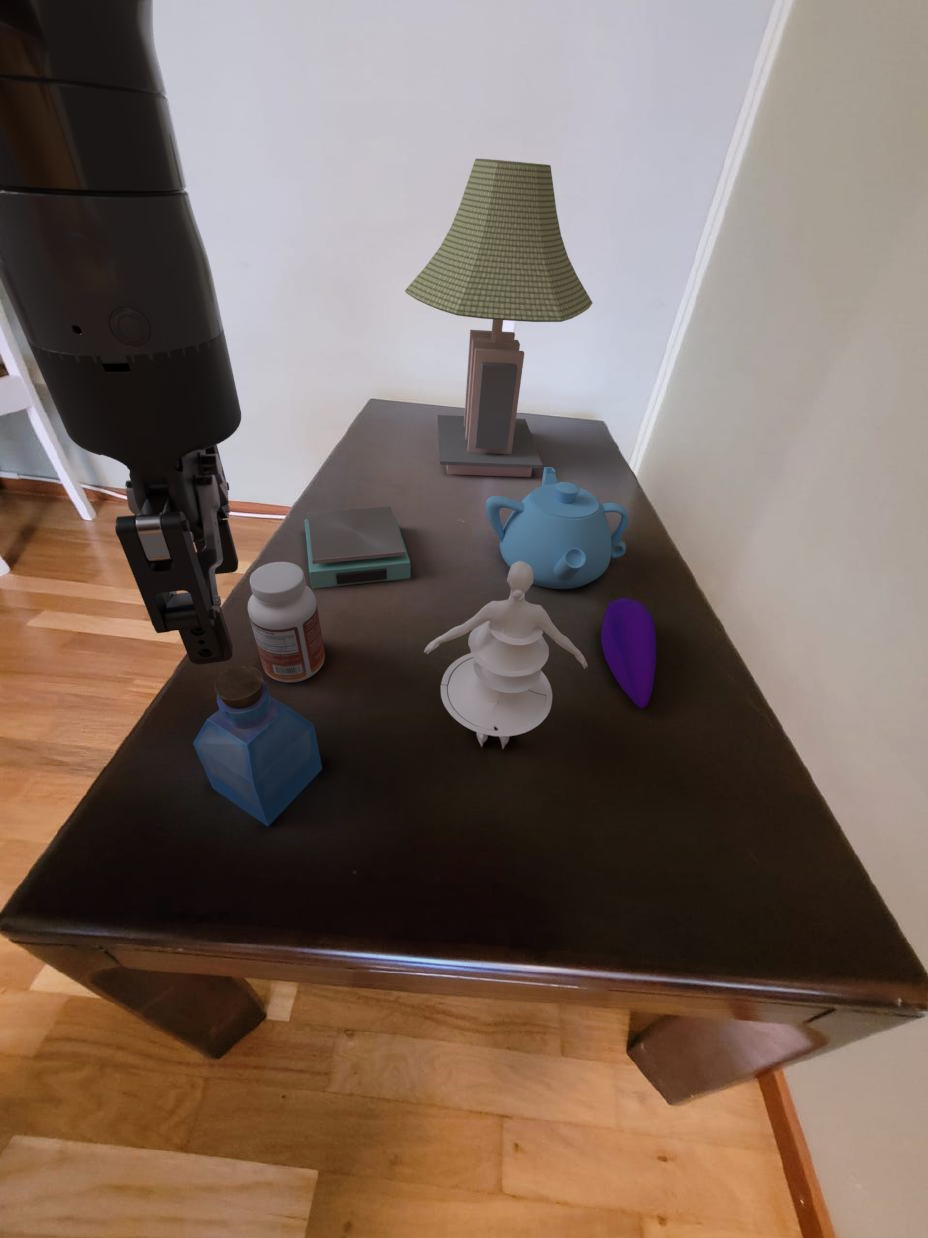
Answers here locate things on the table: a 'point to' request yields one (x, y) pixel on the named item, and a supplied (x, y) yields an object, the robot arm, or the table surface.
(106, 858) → the table surface
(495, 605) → the figurine
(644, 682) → the purple teardrop shape
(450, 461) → the desk lamp
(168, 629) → the robot arm
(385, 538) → the pan
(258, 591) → the pill bottle
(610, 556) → the teapot
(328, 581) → the scale
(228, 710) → the perfume bottle
